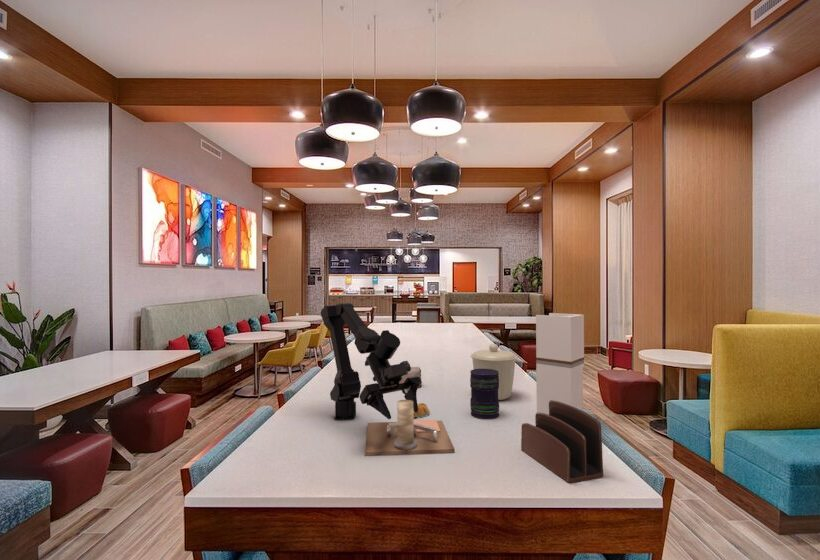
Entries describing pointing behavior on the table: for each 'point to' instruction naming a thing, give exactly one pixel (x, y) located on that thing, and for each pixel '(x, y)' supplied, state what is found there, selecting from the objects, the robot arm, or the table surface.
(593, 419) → the letter holder
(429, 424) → the pad
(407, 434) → the peg
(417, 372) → the food item
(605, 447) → the table surface
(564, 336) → the grooved white pillar
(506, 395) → the canister
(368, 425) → the board
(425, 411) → the pastry
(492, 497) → the table surface
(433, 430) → the bent metal bar
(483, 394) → the storage jar
